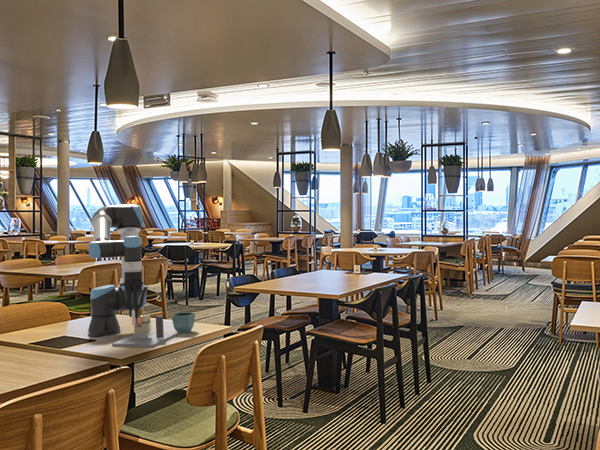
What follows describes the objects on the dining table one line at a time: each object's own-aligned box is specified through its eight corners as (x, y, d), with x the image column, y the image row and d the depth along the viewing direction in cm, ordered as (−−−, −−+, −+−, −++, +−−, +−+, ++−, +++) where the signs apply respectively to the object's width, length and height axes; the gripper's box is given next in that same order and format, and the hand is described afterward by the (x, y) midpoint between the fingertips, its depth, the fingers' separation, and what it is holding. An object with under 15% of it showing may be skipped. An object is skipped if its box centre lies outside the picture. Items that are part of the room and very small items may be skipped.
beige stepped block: (136, 331, 259) (135, 311, 259) (152, 330, 260) (151, 311, 260) (130, 337, 245) (129, 317, 245) (147, 336, 246) (146, 316, 246)
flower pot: (189, 334, 268) (188, 315, 267) (171, 334, 269) (171, 315, 269) (196, 330, 276) (195, 312, 276) (179, 330, 278) (178, 312, 278)
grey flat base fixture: (112, 346, 247) (111, 321, 247) (137, 335, 269) (136, 312, 269) (153, 347, 243) (152, 322, 242) (176, 336, 264) (175, 313, 264)
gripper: (115, 272, 242) (117, 326, 242) (145, 271, 242) (146, 325, 242) (121, 270, 249) (122, 323, 249) (149, 269, 249) (151, 322, 250)
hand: (134, 324), depth 246 cm, fingers closed
